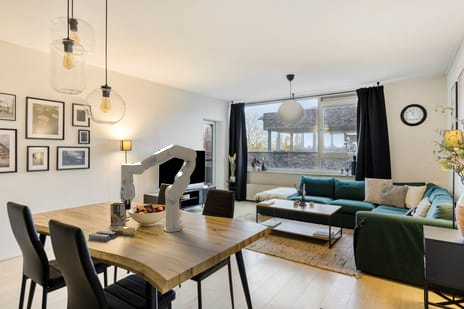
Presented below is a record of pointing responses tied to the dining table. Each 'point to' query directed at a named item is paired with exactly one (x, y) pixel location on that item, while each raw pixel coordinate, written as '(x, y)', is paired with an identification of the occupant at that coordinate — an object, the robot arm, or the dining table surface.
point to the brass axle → (126, 230)
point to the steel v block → (102, 236)
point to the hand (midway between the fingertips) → (127, 209)
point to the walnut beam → (117, 231)
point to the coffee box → (118, 214)
